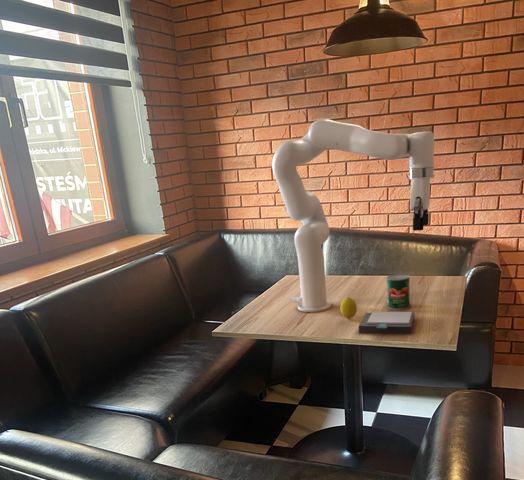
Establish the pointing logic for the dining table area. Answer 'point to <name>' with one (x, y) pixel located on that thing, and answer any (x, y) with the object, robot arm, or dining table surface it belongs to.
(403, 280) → the canned tomato
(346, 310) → the lemon
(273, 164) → the robot arm
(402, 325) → the scale
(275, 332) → the dining table surface
